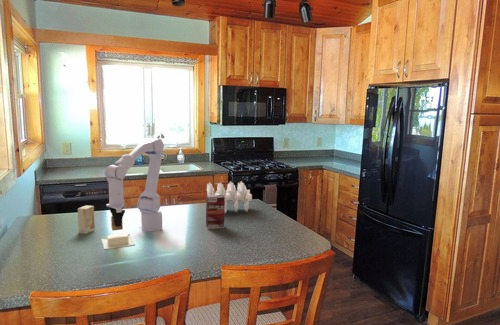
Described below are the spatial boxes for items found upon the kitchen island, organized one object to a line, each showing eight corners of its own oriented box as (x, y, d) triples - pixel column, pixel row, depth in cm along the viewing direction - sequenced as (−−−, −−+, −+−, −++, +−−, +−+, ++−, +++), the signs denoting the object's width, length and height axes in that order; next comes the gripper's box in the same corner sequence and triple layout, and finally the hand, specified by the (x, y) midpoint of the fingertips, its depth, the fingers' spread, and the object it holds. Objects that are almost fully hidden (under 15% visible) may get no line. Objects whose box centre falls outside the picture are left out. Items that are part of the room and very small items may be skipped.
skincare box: (86, 235, 162) (85, 209, 160) (78, 234, 163) (76, 208, 161) (95, 230, 168) (94, 205, 166) (87, 229, 169) (86, 204, 167)
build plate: (129, 235, 162) (129, 234, 162) (135, 246, 150) (135, 244, 150) (101, 239, 156) (101, 237, 156) (104, 251, 144) (104, 249, 144)
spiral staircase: (251, 219, 203) (208, 219, 197) (245, 199, 217) (205, 199, 211) (257, 194, 193) (212, 194, 187) (250, 175, 208) (208, 174, 201)
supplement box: (207, 229, 173) (207, 197, 170) (205, 226, 177) (205, 195, 175) (224, 228, 175) (225, 196, 173) (222, 225, 180) (222, 194, 177)
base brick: (127, 239, 156) (126, 233, 155) (128, 242, 152) (128, 236, 152) (107, 242, 152) (107, 235, 152) (108, 245, 148) (108, 238, 148)
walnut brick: (121, 226, 154) (121, 215, 153) (122, 229, 150) (122, 217, 149) (111, 227, 152) (111, 216, 151) (112, 230, 148) (112, 219, 148)
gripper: (104, 190, 153) (105, 220, 155) (108, 198, 141) (109, 231, 143) (121, 189, 157) (122, 218, 159) (126, 196, 144) (127, 228, 146)
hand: (117, 224), depth 151 cm, fingers closed on walnut brick, 4 cm apart
